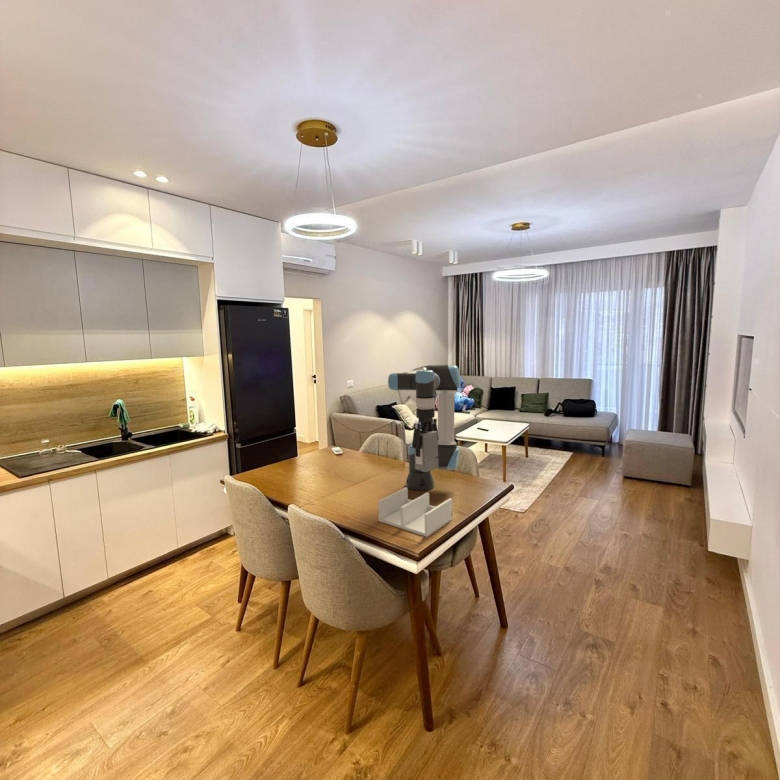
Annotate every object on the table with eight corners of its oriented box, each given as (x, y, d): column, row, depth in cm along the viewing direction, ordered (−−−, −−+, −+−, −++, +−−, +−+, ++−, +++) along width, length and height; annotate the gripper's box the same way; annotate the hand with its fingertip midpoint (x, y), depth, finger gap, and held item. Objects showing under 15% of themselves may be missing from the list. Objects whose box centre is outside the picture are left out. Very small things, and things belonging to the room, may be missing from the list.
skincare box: (424, 472, 165) (423, 434, 163) (413, 468, 171) (412, 431, 169) (440, 468, 170) (439, 431, 168) (428, 464, 176) (427, 428, 174)
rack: (405, 505, 192) (405, 487, 191) (452, 519, 177) (452, 498, 176) (378, 521, 177) (378, 500, 176) (427, 536, 161) (427, 514, 160)
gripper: (431, 403, 178) (432, 453, 181) (402, 410, 161) (403, 466, 164) (446, 404, 173) (447, 456, 176) (417, 412, 156) (418, 469, 159)
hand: (426, 460), depth 170 cm, fingers closed on skincare box, 9 cm apart
